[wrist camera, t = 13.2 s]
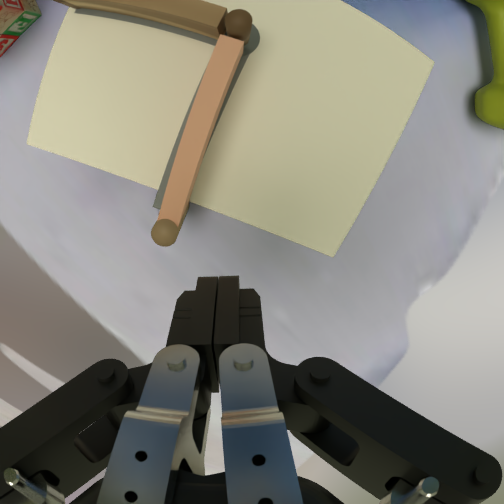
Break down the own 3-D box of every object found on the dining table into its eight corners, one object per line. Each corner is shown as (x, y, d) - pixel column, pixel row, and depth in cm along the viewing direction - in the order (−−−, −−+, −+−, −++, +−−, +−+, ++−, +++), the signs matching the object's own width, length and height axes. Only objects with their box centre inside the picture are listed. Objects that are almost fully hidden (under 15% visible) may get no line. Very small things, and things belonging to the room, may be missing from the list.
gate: (244, 53, 20) (246, 40, 15) (185, 217, 27) (173, 249, 21) (222, 46, 20) (217, 31, 15) (165, 211, 26) (148, 241, 21)
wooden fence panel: (77, -10, 16) (41, -26, 11) (253, 32, 20) (257, 13, 14) (68, 8, 17) (31, -5, 12) (243, 51, 20) (245, 37, 15)
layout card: (109, -63, 14) (107, -64, 14) (432, 62, 21) (434, 62, 20) (25, 159, 23) (23, 160, 23) (324, 269, 30) (324, 271, 30)
